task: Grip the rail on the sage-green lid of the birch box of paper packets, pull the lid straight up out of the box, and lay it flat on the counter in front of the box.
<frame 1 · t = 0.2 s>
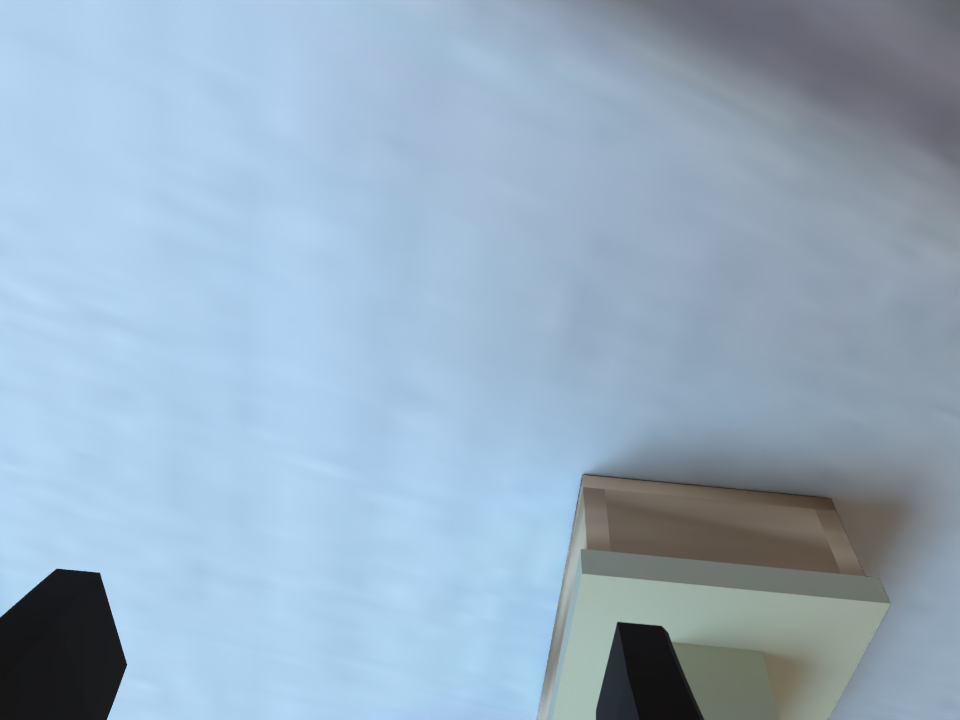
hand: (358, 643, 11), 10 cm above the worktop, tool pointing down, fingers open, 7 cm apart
box: (664, 624, 25), on the worktop
lid: (677, 709, 23), point 3 cm above the worktop, touching box
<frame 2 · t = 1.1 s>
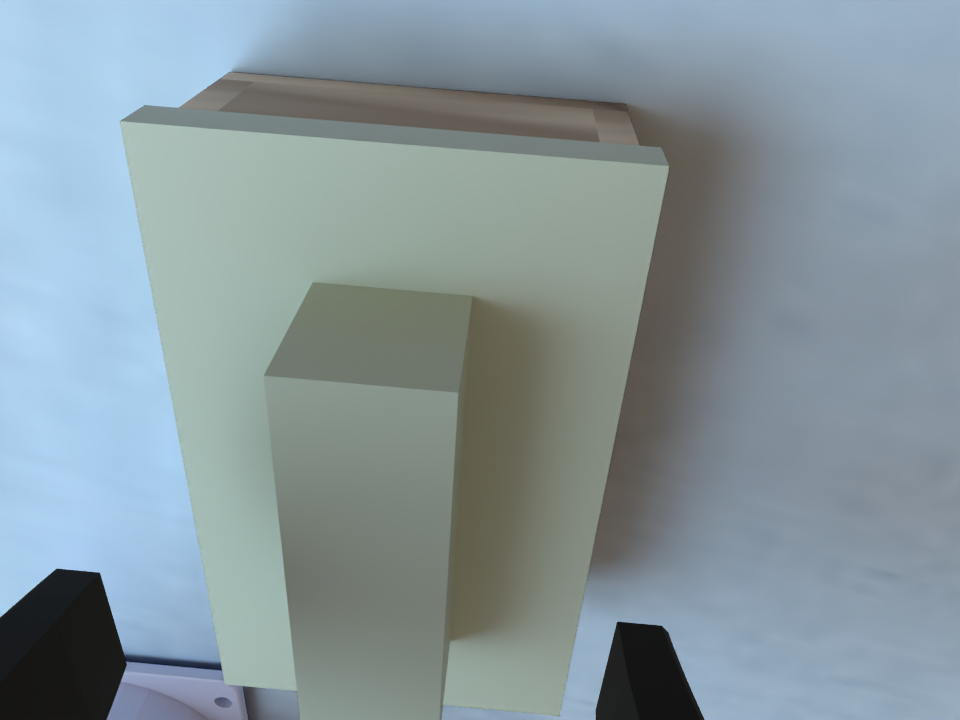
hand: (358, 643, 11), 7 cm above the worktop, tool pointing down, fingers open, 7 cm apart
box: (419, 370, 17), on the worktop
lid: (398, 460, 15), point 3 cm above the worktop, touching box
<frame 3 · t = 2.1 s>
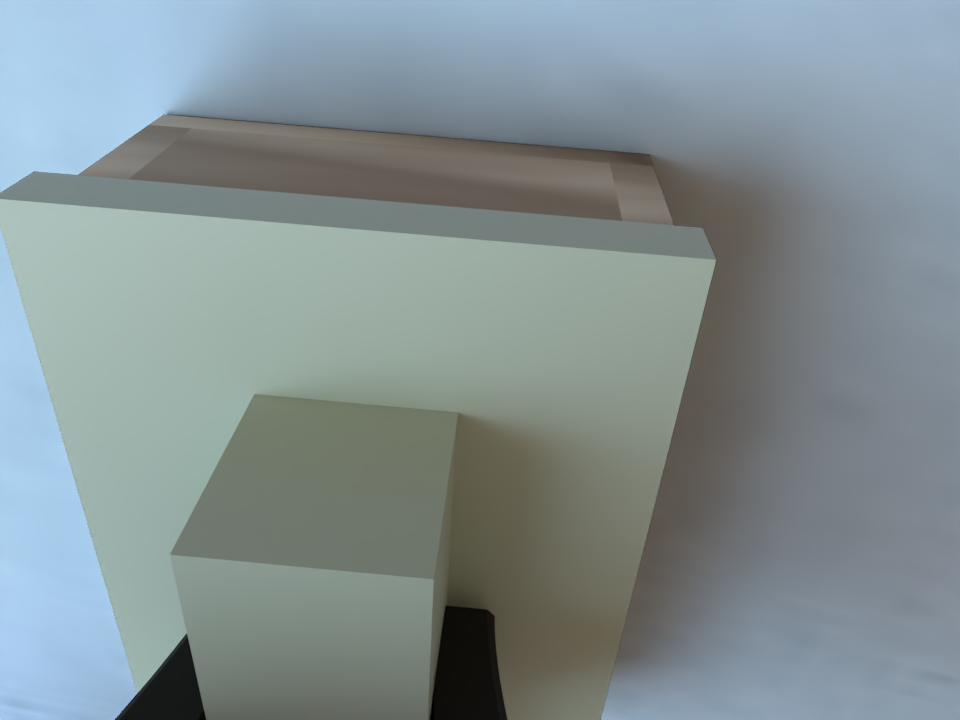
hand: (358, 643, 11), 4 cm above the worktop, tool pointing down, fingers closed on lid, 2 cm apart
box: (401, 455, 15), on the worktop
lid: (372, 582, 12), point 3 cm above the worktop, touching box, gripper
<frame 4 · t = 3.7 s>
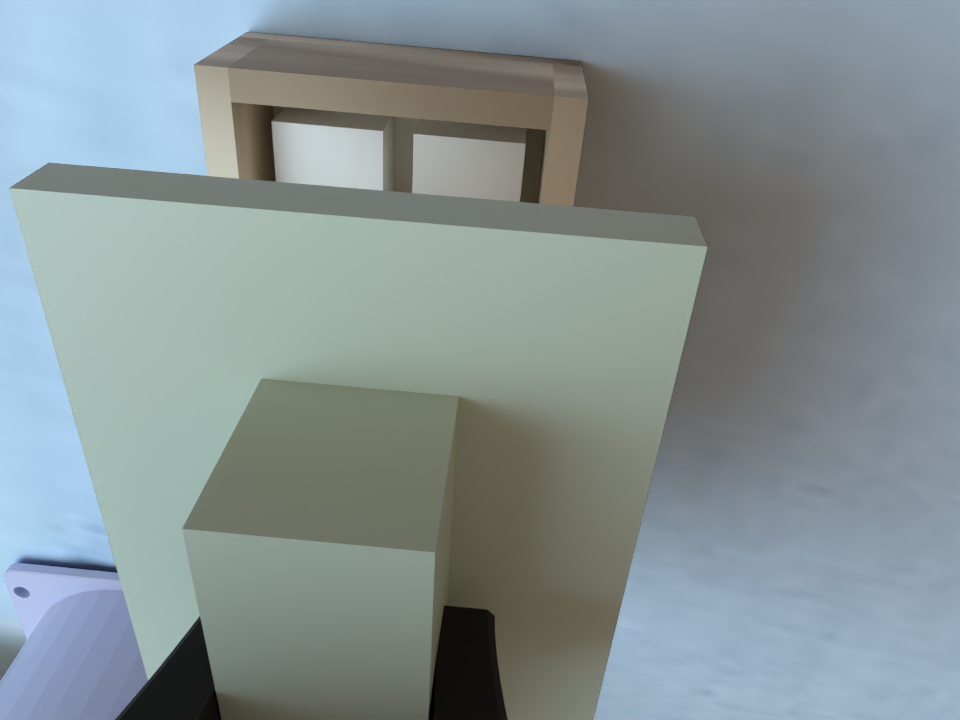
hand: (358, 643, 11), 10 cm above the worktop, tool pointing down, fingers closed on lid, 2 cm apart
box: (408, 299, 20), on the worktop
lid: (375, 565, 12), point 9 cm above the worktop, touching gripper
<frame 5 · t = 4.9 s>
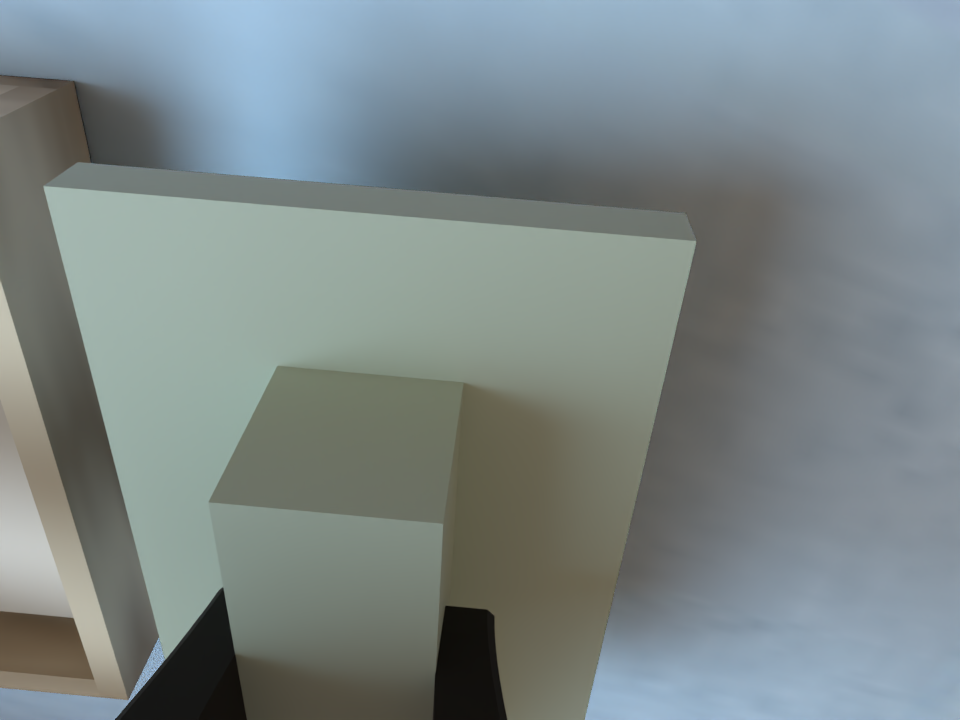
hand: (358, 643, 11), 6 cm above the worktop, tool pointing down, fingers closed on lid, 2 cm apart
lid: (382, 546, 13), point 3 cm above the worktop, touching gripper
when the fingers open (3 cm above the worktop, at t = 5.5 s): lid stays where it is, on the worktop.
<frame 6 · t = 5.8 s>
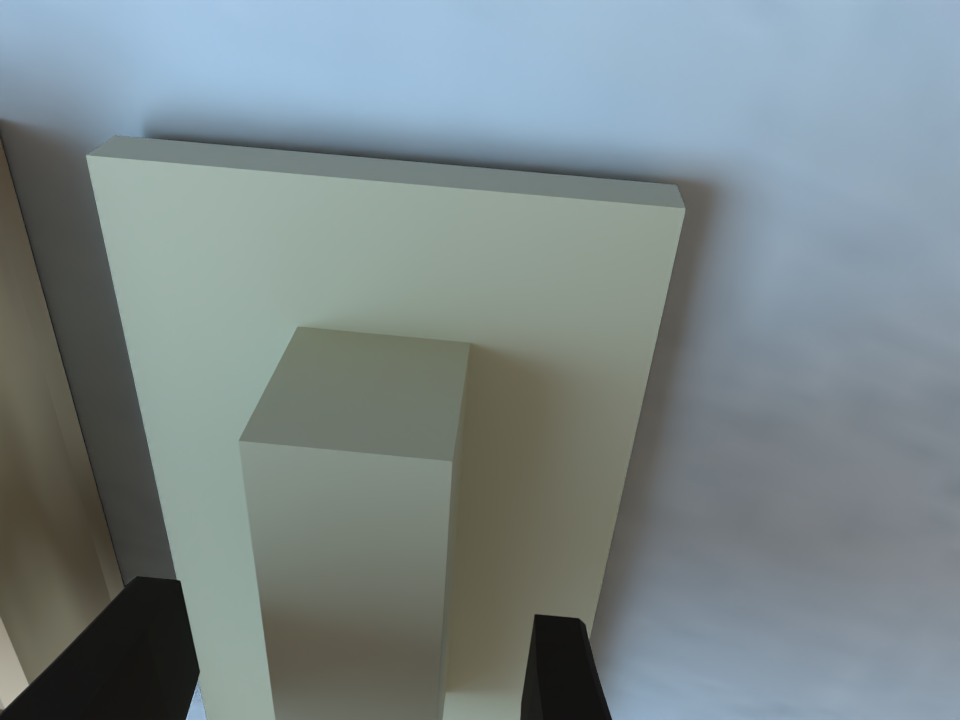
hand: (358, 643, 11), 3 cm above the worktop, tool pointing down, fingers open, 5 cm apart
lid: (391, 506, 14), on the worktop
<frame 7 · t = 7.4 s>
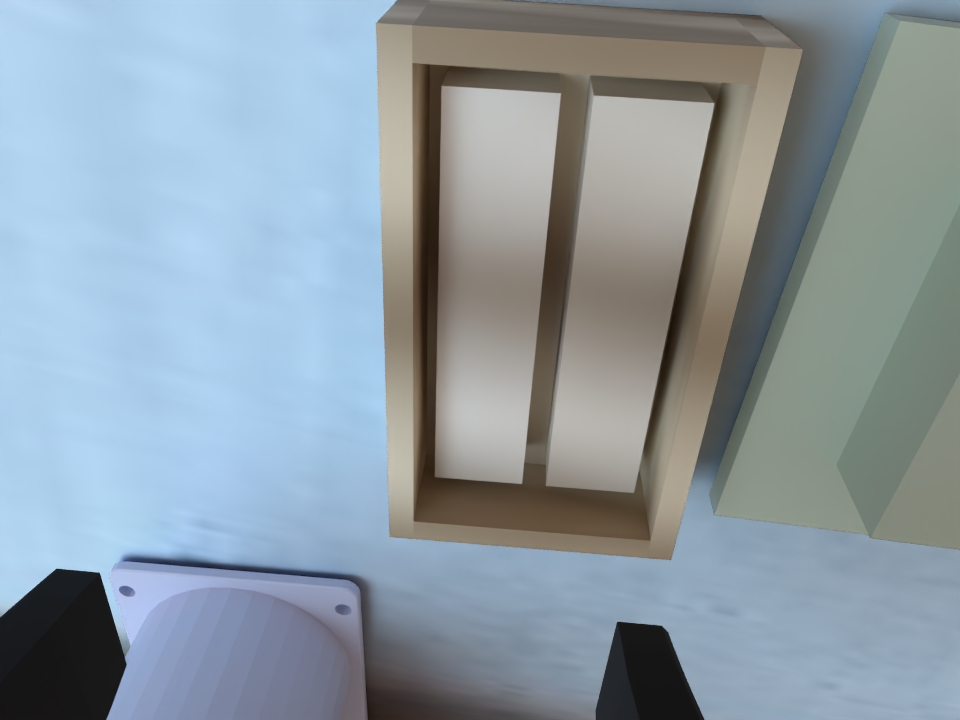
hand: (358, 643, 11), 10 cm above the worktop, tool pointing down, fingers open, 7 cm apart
box: (551, 277, 19), on the worktop
lid: (938, 319, 18), on the worktop
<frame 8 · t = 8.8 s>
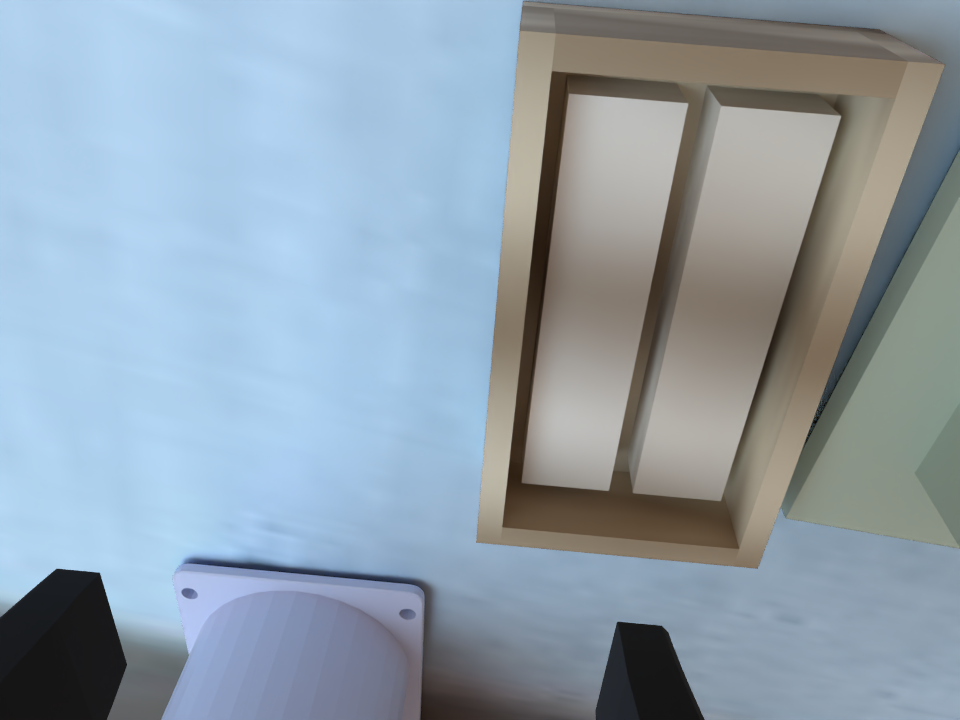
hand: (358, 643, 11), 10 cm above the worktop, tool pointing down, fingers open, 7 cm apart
box: (645, 285, 19), on the worktop
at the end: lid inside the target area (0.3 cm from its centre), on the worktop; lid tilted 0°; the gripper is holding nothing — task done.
